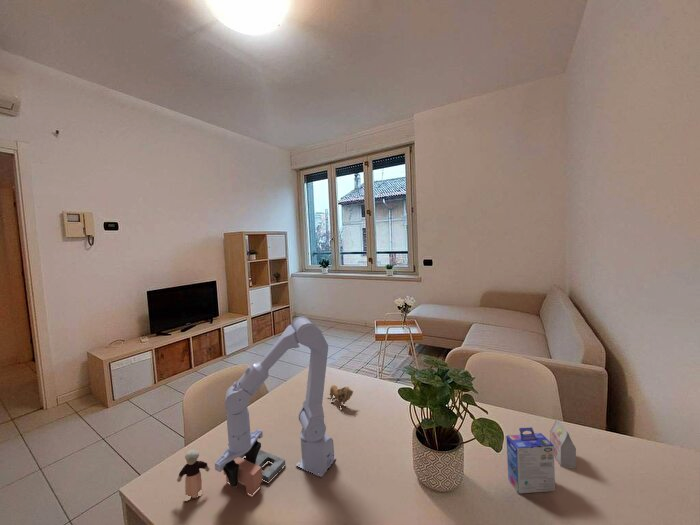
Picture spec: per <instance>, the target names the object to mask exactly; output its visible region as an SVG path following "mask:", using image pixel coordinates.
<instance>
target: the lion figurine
mask: <svg viewBox="0 0 700 525" xmlns="http://www.w3.org/2000/svg"><path fill="white" fill-rule="evenodd" d="M329 395H330V397H329V398H330V400H331V399H332V400H333V395H334V396H335V398H334V399H336V400H338V407H339V406H342V405H343V404H346V402H347V401H349V400H350V399H351V397H352V396H353V395H354V390H352V389H351V388H350V387H349V386H344V387H342V388H338V387H337V385H334V384H332V385H331V386H330V389H329Z"/></svg>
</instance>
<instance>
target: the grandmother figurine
mask: <svg viewBox="0 0 700 525" xmlns="http://www.w3.org/2000/svg"><path fill="white" fill-rule="evenodd" d="M199 457H200V452H199V450H197V449H194V448H193V449H190V450H188V451H187V452H186V454H185V456H184V458H185V459H184V460H186V464H185V465H184V466H183V467H182V469H181V470H180V472H179V474H178V477H177V479H176V481H177V483H180V482H181V481H182V478H183V477H184V476H185V477H184V478H185V480H184V481H185V484H184V486H185V487H184V488H185V490H184V492H185V493H184V494H185V496H186V495H188V496H191V497H192V499H196V498H195V497H197V496H198V492H199V491H200V490H202V489H203V487H202V485H203V484H202V483H203V481H202V480H203V479H202V472H201V470H200V469H203V470H205V472H206V473H207V472H209V471H210V470H211V468H210V466H209V465H208V462H205V461H202V460H198V459H199Z"/></svg>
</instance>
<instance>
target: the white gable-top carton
mask: <svg viewBox="0 0 700 525" xmlns="http://www.w3.org/2000/svg"><path fill="white" fill-rule="evenodd" d="M549 436H550V437H549V441H550V442H551V443H552V444H553V445H554V459H556V461H557V463H558V464H559V466H560V467H561V468H562V467H563V468H569V469H577V448H576V445H575V444H574V442H573V441H572V439H571V436H570V433H569V432H568V430H566V428H565V426H564V425H563V424H562V423H561V422H560V420H559V419H557V418H556V419H555V421H554V423H553V426H552V428H551V429H550V431H549Z"/></svg>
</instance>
